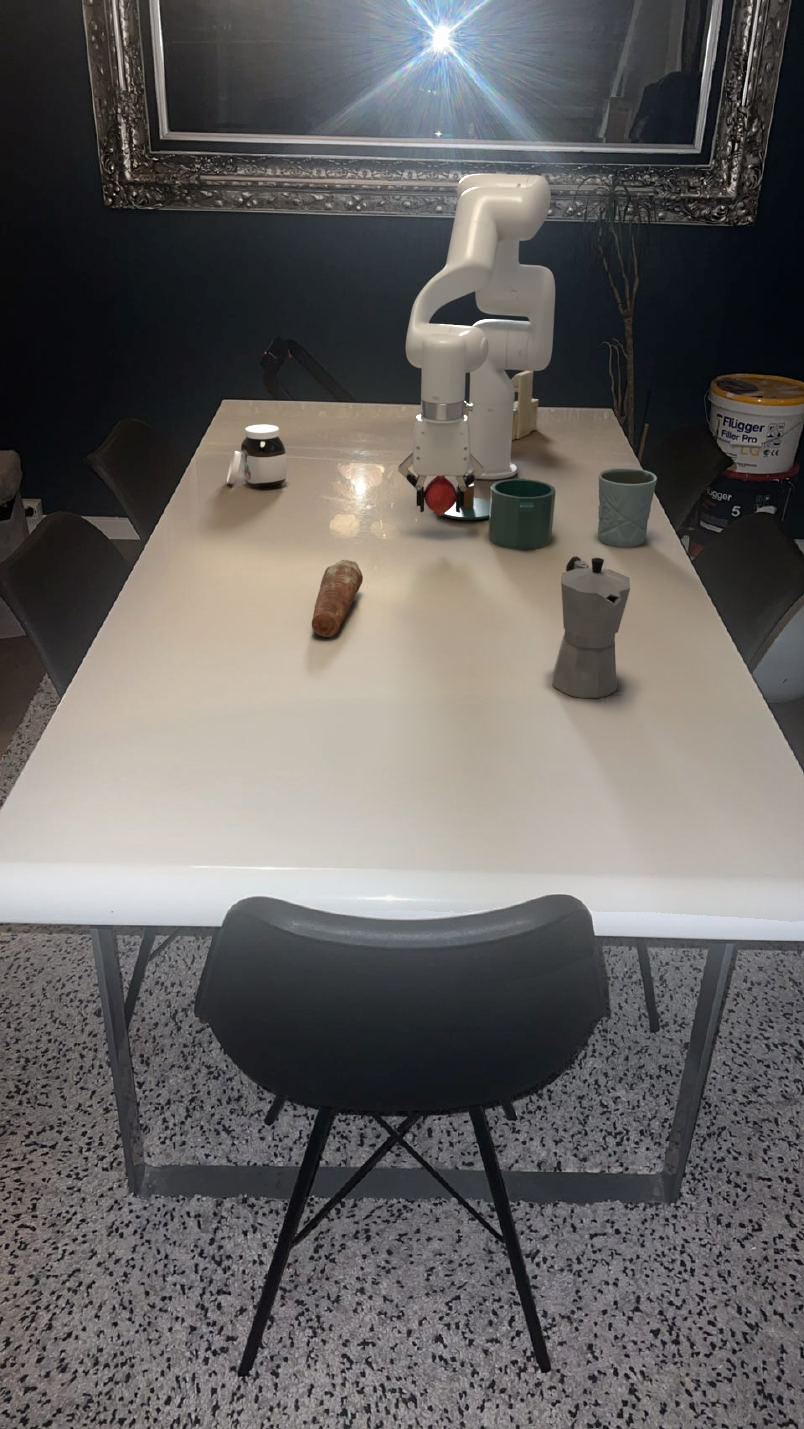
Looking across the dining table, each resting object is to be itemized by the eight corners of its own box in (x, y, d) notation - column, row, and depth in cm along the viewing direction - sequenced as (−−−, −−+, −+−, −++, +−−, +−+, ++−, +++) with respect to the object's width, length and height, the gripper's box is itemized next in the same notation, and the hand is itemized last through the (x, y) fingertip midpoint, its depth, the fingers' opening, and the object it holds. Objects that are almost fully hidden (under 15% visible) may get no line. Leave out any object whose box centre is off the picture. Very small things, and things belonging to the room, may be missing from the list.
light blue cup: (658, 539, 191) (667, 475, 185) (629, 553, 185) (637, 487, 179) (611, 526, 197) (619, 464, 191) (581, 539, 191) (588, 475, 185)
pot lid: (435, 522, 198) (436, 493, 195) (434, 502, 209) (435, 474, 206) (500, 523, 198) (502, 494, 195) (495, 503, 209) (497, 475, 206)
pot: (491, 554, 183) (494, 502, 179) (485, 523, 198) (488, 474, 193) (556, 555, 183) (560, 503, 179) (545, 524, 198) (549, 475, 193)
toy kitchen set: (481, 420, 268) (484, 359, 261) (539, 430, 260) (543, 367, 253) (444, 435, 255) (446, 372, 247) (504, 446, 247) (508, 380, 239)
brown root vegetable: (364, 592, 168) (363, 559, 165) (340, 642, 151) (340, 607, 148) (325, 589, 168) (325, 557, 166) (298, 639, 152) (297, 604, 149)
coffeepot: (636, 702, 136) (654, 574, 127) (569, 709, 134) (582, 580, 125) (591, 652, 149) (605, 533, 140) (529, 658, 147) (539, 537, 139)
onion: (419, 518, 187) (419, 475, 183) (430, 508, 192) (431, 465, 188) (449, 522, 185) (450, 479, 181) (460, 512, 190) (461, 469, 186)
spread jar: (292, 487, 216) (290, 431, 210) (243, 496, 211) (240, 439, 205) (265, 473, 225) (262, 419, 219) (218, 481, 219) (213, 426, 213)
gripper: (491, 404, 182) (486, 503, 191) (393, 404, 182) (392, 502, 191) (493, 416, 176) (488, 517, 185) (392, 415, 176) (392, 516, 185)
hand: (439, 509), depth 188 cm, fingers closed on onion, 5 cm apart
